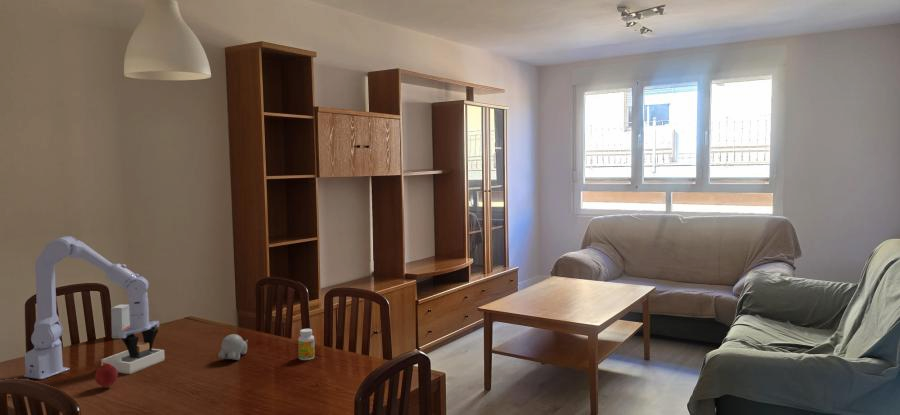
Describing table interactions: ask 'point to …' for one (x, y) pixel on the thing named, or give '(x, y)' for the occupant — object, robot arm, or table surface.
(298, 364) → the table surface
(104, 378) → the onion
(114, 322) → the skincare box
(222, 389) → the table surface
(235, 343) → the chubby cartoon animal
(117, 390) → the table surface
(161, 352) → the walled box
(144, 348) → the block
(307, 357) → the supplement bottle
